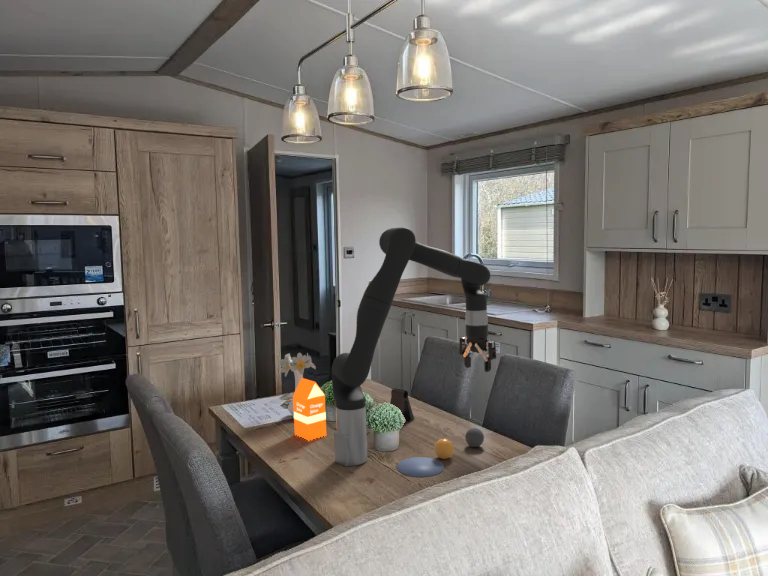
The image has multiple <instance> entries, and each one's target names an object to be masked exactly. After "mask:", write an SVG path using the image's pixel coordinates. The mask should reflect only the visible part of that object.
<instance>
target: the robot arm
mask: <svg viewBox="0 0 768 576" xmlns="http://www.w3.org/2000/svg"><path fill="white" fill-rule="evenodd" d="M416 240H417V239H416V235H415V233H414V232H413V230H412V229H410V228H408V227H403V226H400V227H392V228H389V229H386V230H384V231H383V232H382V233H381V235H380V237H379V240H378V241H379V242H378V244H379V247H380V250H381V251H382V253H384V254H385V256H384V258H383V259H384V260H383V262H382V265H381V267H380V268H379V269H378V271H377V273H376V274H375V275H374V277H373V278H372V280H371V281H370V282H369V283H368V285H367V286H366V288H365V290H364V292H363V295H362V297H361V300H360V303H359V306H358V309H357V313H356V325H355V326H356V327H355V328H356V329H355V330H356V331H355V337H354V341H353V344H352V347H351V349H350V351H349V352H342V353H340V354H339V355H337V356H336V357H335V358H334V360H333V362H332V366H331V382H332V383H331V386H332V393H333V394H332V395H333V398H334V402H335V419H336V420H335V423H336V425H335V427H336V430H334V431H333V441H334V443H333V445H334V461H335V462H337V463H338V464H340V465H342V466H345V467H350V466H359V465H363V464H365V463H366V462H367V461H368V438H367V437H368V436H367V408H366V404H367V403H366V396H365V393H364V392H363V390H362V385H363V384H364V383H365V381H366V380H367V378H368V376H369V374H370V371H371V367H372V366H371V365H372V362H373V359H374V358H373V357H374V355H375V351H376V347H377V344H378V342H379V340H380V339H379V338H380V336H381V333H382V331H383V328H384V326H385V325H384V324H385V322H386V320H387V317H388V315H389V312H390V310H391V306H392V303H393V301H394V298H395V295H396V292H397V290H398V288H399V284H400V282H401V279H402V276H403V274H404V272H405V269H406V267H407V265H408V263H409V262H415V263H418V264H419V265H422V266H425V267H428V268H429V269H433V270H435V271H437V272H440V273H442V274H445V275H447V276H449V277H453V278H459V279H460V280H461V281H460V282H461V286H462V290H463V293H464V296H465V316H464V318H465V320H464V321H465V336H464V337H463V336H462V337H460V338H459V347H458V348H459V352H458V353H459V355H461V356H463V357H464V360H463V361H464V367H465V369H468V368H471V367H472V358H471V355H472V353H477V354H479V355H480V356H481V357H482V358H483V359H484V372H485V373H488V372H489V373H490V372H491V370H492V361H493V360H496V359H497V350H496V341H488V336H489V322H488V321H489V319H488V318H489V316H488V310H487V309H488V308H487V307H488V306H487V303H488V302H487V299H488V298H487V296H486V293H485V292H483V291H482V290H481V286H484V285H486V284H488V283H489V281H490V279H491V272H490V270H489V268H488V267H487V266H485V265H484V264H482V263H480V262H479V263H478V262H476V261H472V260H470V259H469V260H468V259H466V258H463V257H461V256H458V255H457V254H454V253H451V252H449V251H447V250H443V249H441V248H437V247H431V246H429V245H426V244H424V243H423V244H422V243H420V242H418V241H416Z"/></svg>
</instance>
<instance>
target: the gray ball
mask: <svg viewBox="0 0 768 576" xmlns="http://www.w3.org/2000/svg"><path fill="white" fill-rule="evenodd" d="M484 436H485V435H484V432H483V431H482V430H481V429H479V428H477V427H471V428H469V429H468V430H467V431H466V433H465V437H464V438H465V443H467V445H468V446H470V447H472V448H478V447H480V446H481V445H482V444H483V443H484V441H485V437H484Z"/></svg>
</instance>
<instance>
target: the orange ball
mask: <svg viewBox="0 0 768 576" xmlns="http://www.w3.org/2000/svg"><path fill="white" fill-rule="evenodd" d="M433 450H434V453H435V454H436V456H437V457H438V458H439V459H443V460H446V459H449V458H451V457H452V456H453V454H454V451H455V448H454V444H453V442H452V441H451V440H450V439H448V438H440V439H438V440H437V441H436V442H435V444H434V448H433Z"/></svg>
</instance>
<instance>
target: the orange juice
mask: <svg viewBox="0 0 768 576" xmlns="http://www.w3.org/2000/svg"><path fill="white" fill-rule="evenodd" d="M292 400H293V404H294V417H293V425H294V426H293V427H294V435H295V436H296V435H297V436H296V437H298V436H299V437H298V438H300V437H302V438H304V439H306V440H308V441H307V442H311V441H314V440H313V439H315V440H317V439H316V438H318V439H321V438H324V437H327V413H326V394H325V393H324V392H323V390H322V389H321V388H320V386H319V385H318V384H317V382H316V381H314V380H310V379H307V378H304V377H303V378H302V379H301V381H300V383H299V385H298V387H297V389H296V391H295V390H294V392H293V395H292ZM323 436H324V437H323ZM320 437H321V438H320ZM302 438H301V439H302ZM304 439H303V440H304ZM306 440H305V441H306ZM310 440H311V441H310Z"/></svg>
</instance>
